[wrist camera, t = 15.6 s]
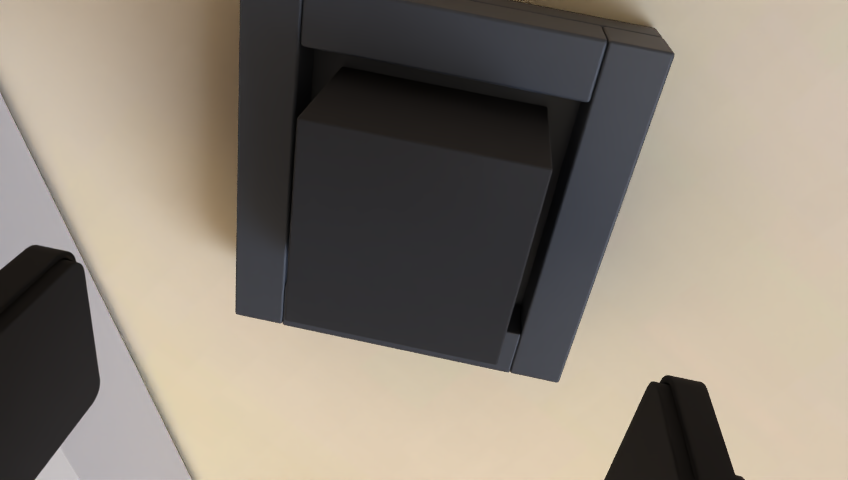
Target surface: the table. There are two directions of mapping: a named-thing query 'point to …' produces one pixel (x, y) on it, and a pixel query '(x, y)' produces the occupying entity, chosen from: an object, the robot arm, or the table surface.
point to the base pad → (470, 71)
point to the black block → (414, 212)
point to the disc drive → (119, 378)
